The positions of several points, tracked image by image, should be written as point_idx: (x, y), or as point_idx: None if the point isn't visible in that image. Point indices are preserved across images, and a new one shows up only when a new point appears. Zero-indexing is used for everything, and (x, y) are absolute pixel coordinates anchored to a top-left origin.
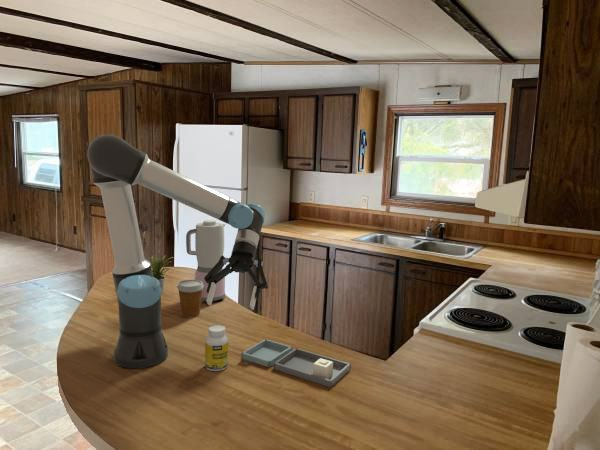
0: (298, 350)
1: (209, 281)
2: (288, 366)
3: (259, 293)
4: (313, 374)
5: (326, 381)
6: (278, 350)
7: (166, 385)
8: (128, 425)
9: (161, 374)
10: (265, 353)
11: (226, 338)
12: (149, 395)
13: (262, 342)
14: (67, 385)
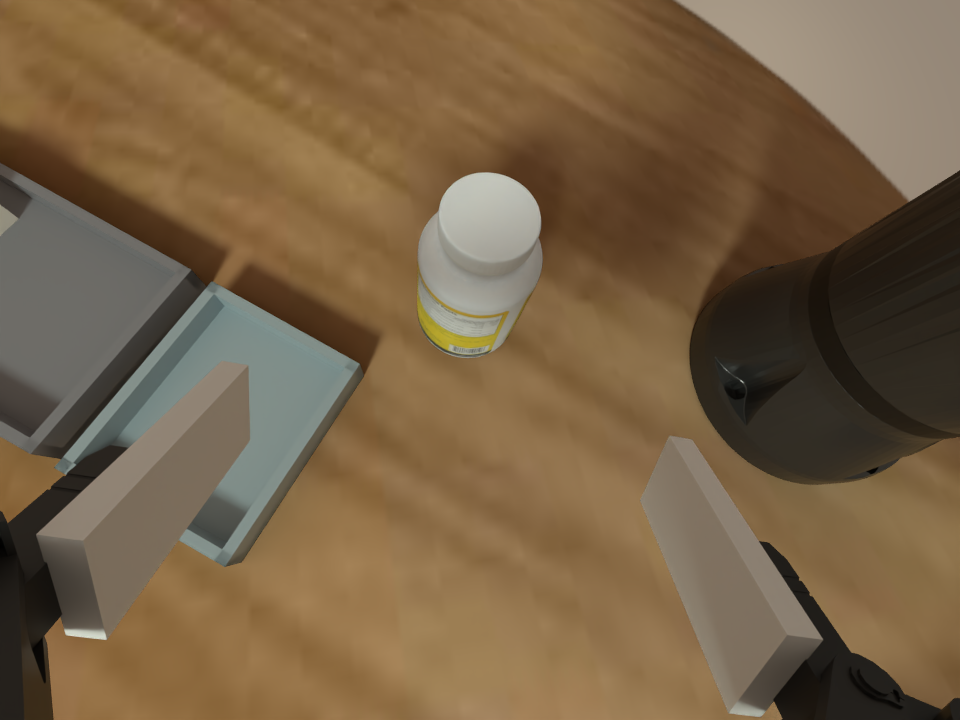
0: (24, 433)
1: (870, 661)
2: (124, 306)
3: (60, 490)
4: (5, 209)
5: None
6: None
7: (603, 181)
8: (615, 14)
9: (650, 248)
10: None
11: (426, 236)
12: (628, 130)
13: (246, 514)
14: (880, 179)
